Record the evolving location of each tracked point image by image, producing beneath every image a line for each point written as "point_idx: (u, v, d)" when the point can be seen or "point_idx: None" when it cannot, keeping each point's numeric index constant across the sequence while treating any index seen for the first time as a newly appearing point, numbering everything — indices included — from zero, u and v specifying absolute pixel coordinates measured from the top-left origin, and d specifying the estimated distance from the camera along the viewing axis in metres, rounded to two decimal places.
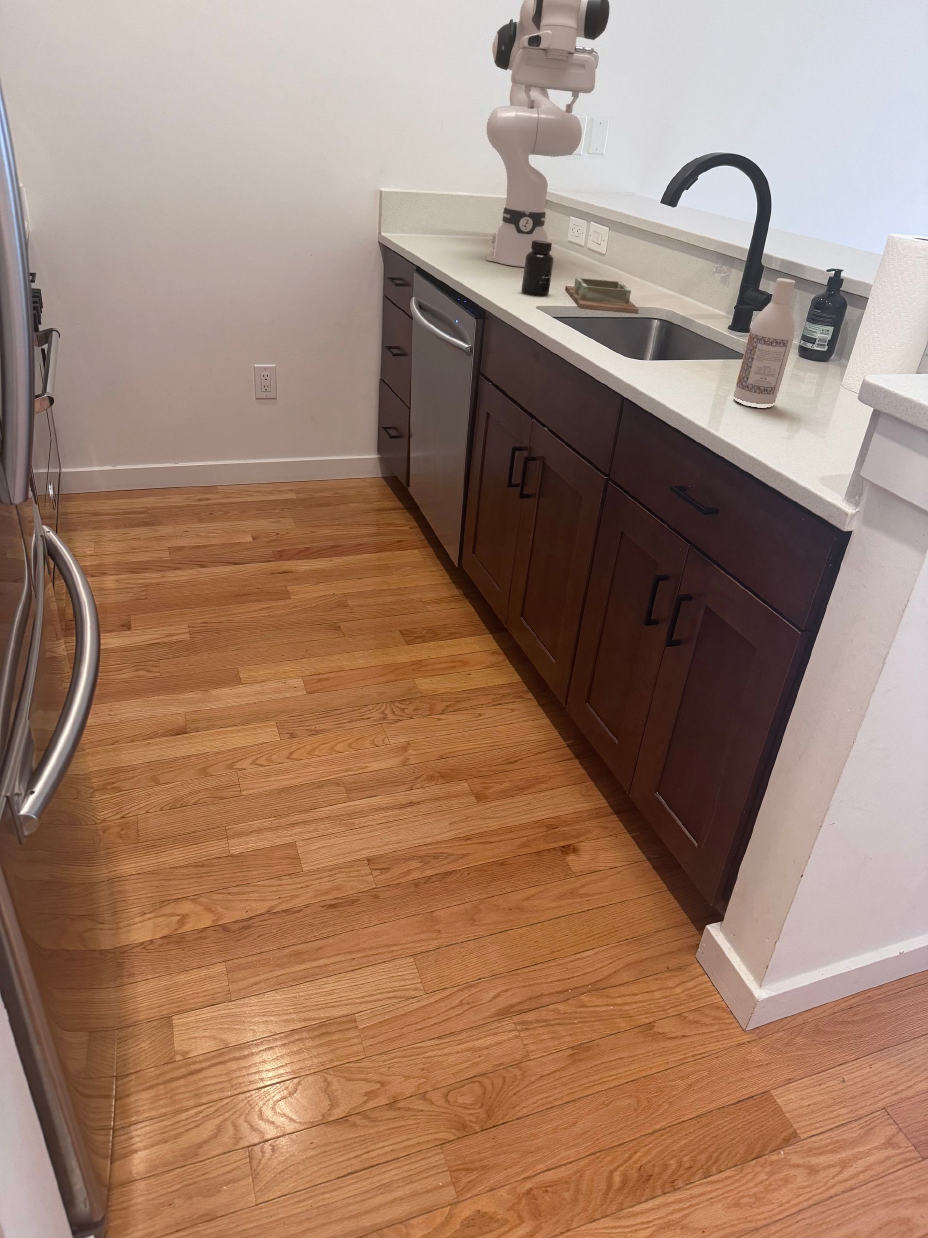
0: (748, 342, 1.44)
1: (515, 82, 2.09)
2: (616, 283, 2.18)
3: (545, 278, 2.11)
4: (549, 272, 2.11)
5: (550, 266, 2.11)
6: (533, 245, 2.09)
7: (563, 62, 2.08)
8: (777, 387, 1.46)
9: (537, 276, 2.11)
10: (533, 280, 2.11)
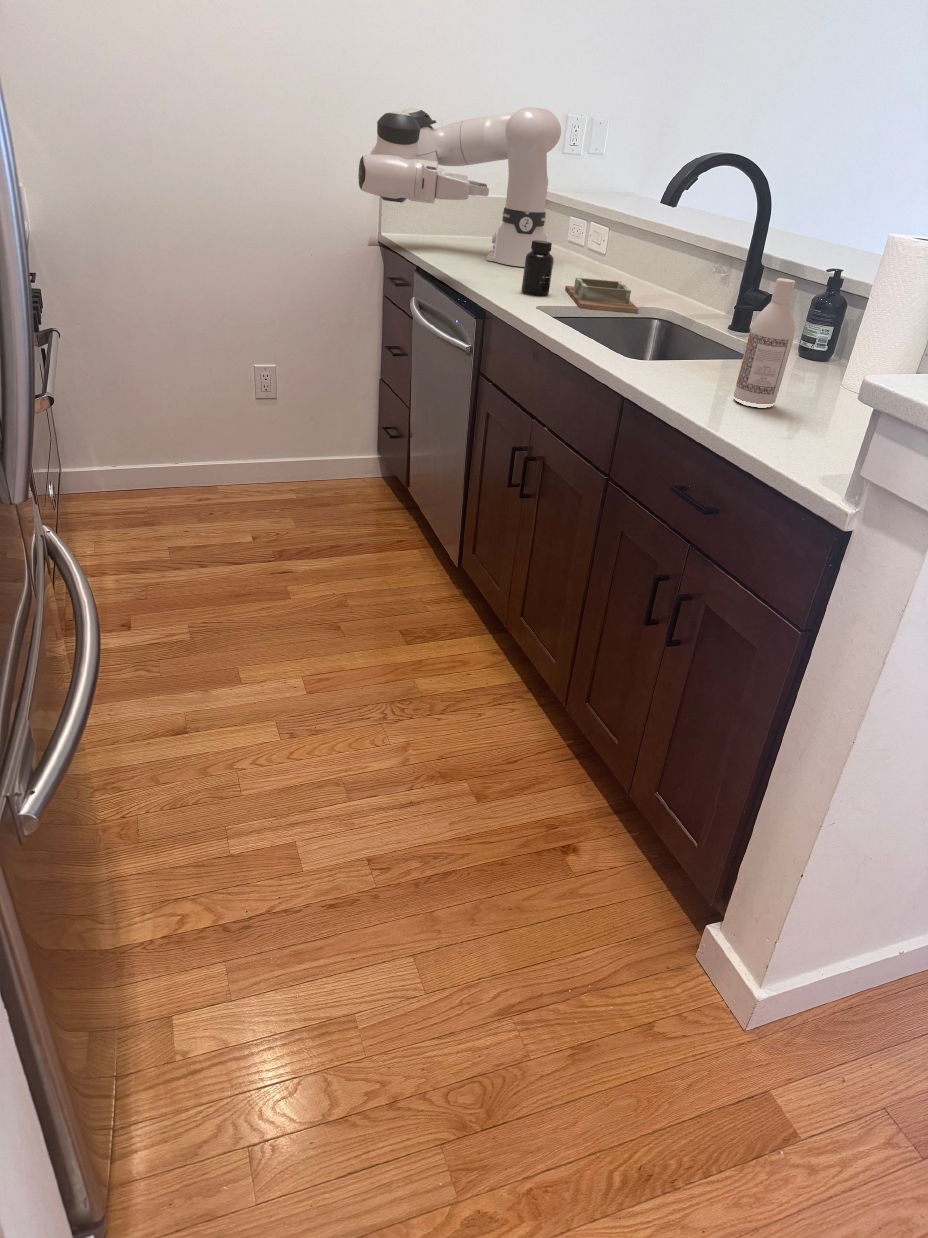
0: (748, 342, 1.44)
1: (469, 182, 1.95)
2: (616, 283, 2.18)
3: (545, 278, 2.11)
4: (549, 272, 2.11)
5: (550, 266, 2.11)
6: (533, 245, 2.09)
7: None
8: (777, 387, 1.46)
9: (537, 276, 2.11)
10: (533, 280, 2.11)
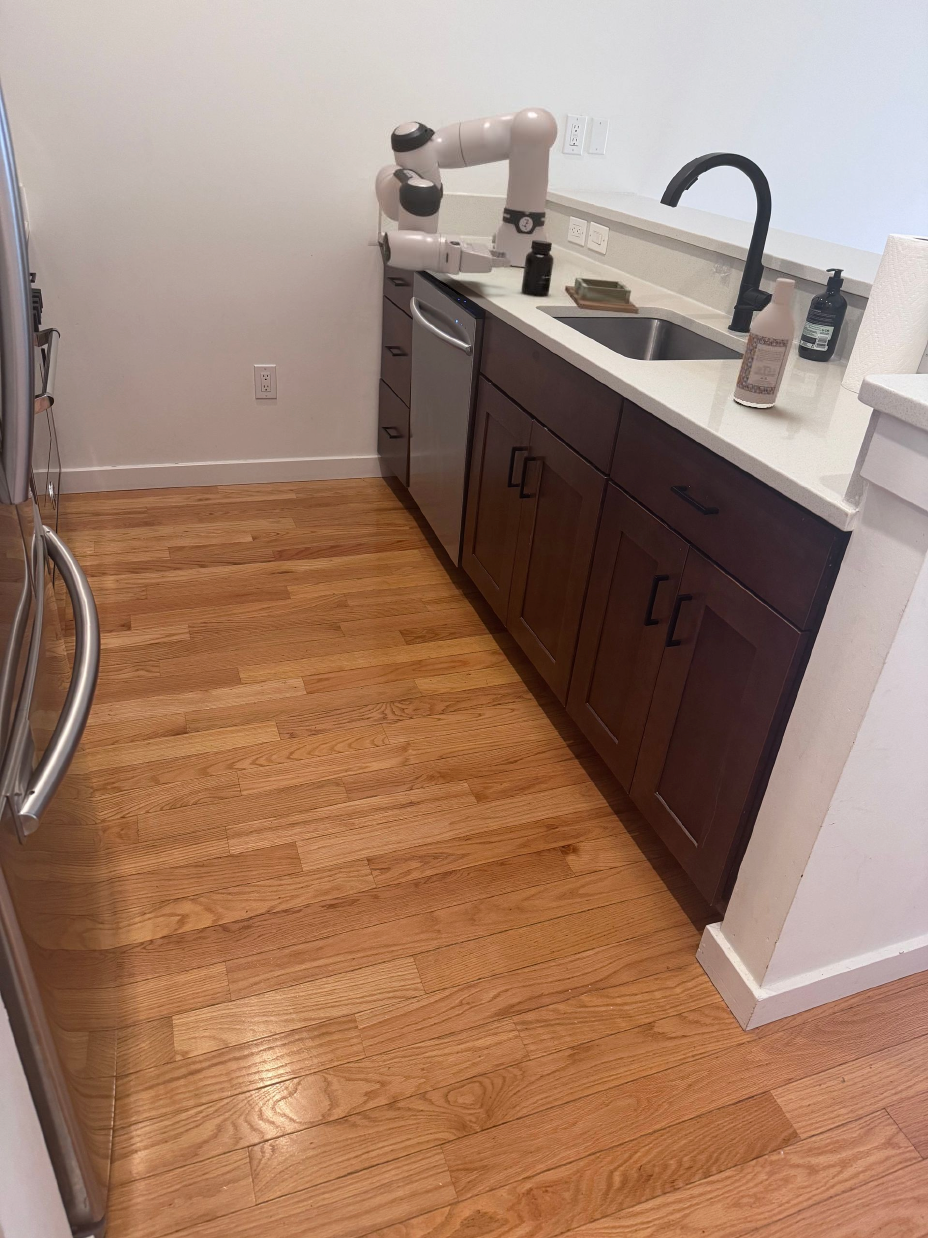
0: (748, 342, 1.44)
1: (492, 256, 2.02)
2: (616, 283, 2.18)
3: (545, 278, 2.11)
4: (549, 272, 2.11)
5: (550, 266, 2.11)
6: (533, 245, 2.09)
7: (467, 247, 2.11)
8: (777, 387, 1.46)
9: (537, 276, 2.11)
10: (533, 280, 2.11)
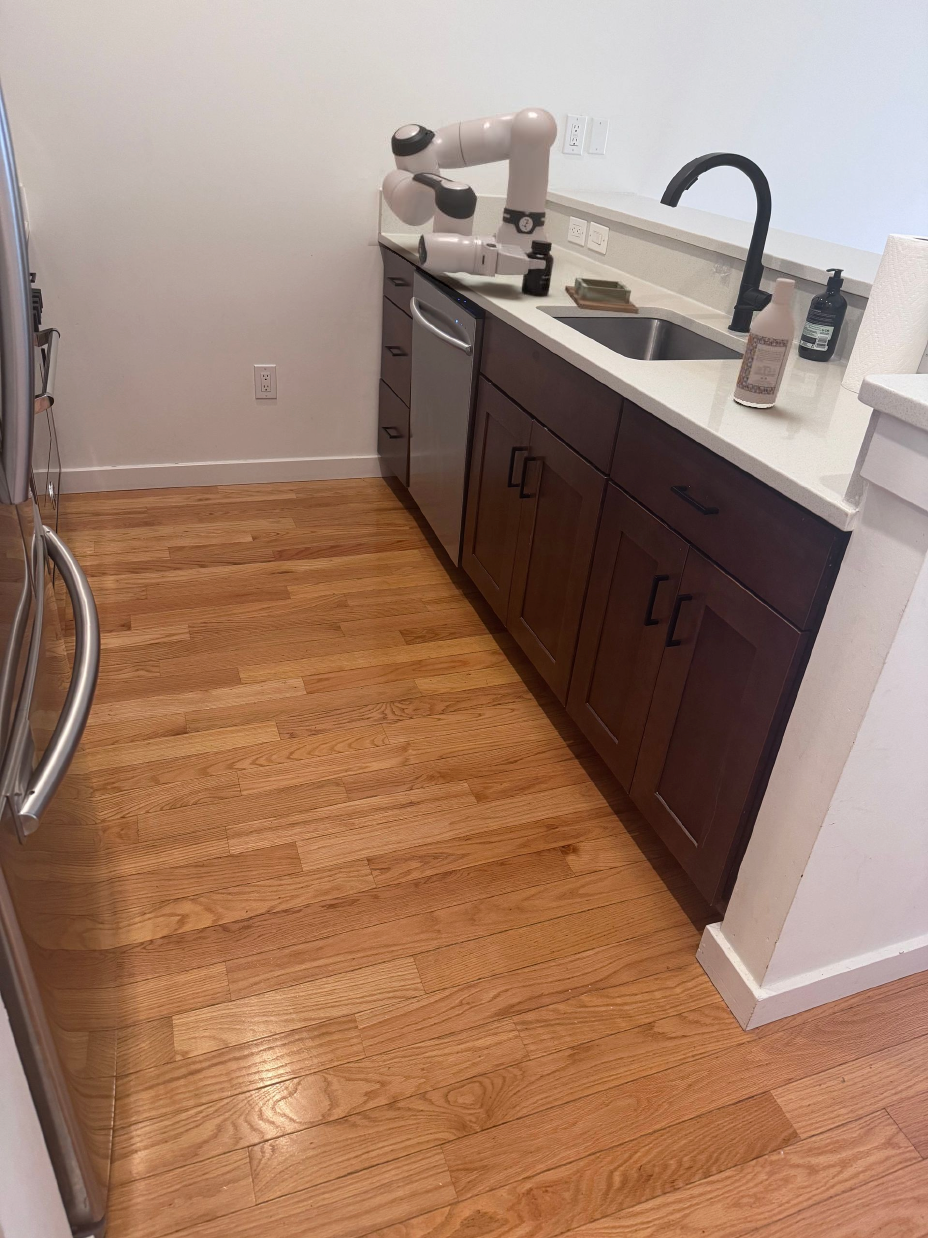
0: (748, 342, 1.44)
1: (528, 258, 2.03)
2: (616, 283, 2.18)
3: (545, 278, 2.11)
4: (549, 272, 2.11)
5: (550, 266, 2.11)
6: (533, 245, 2.09)
7: (502, 249, 2.12)
8: (777, 387, 1.46)
9: (537, 276, 2.11)
10: (533, 280, 2.11)
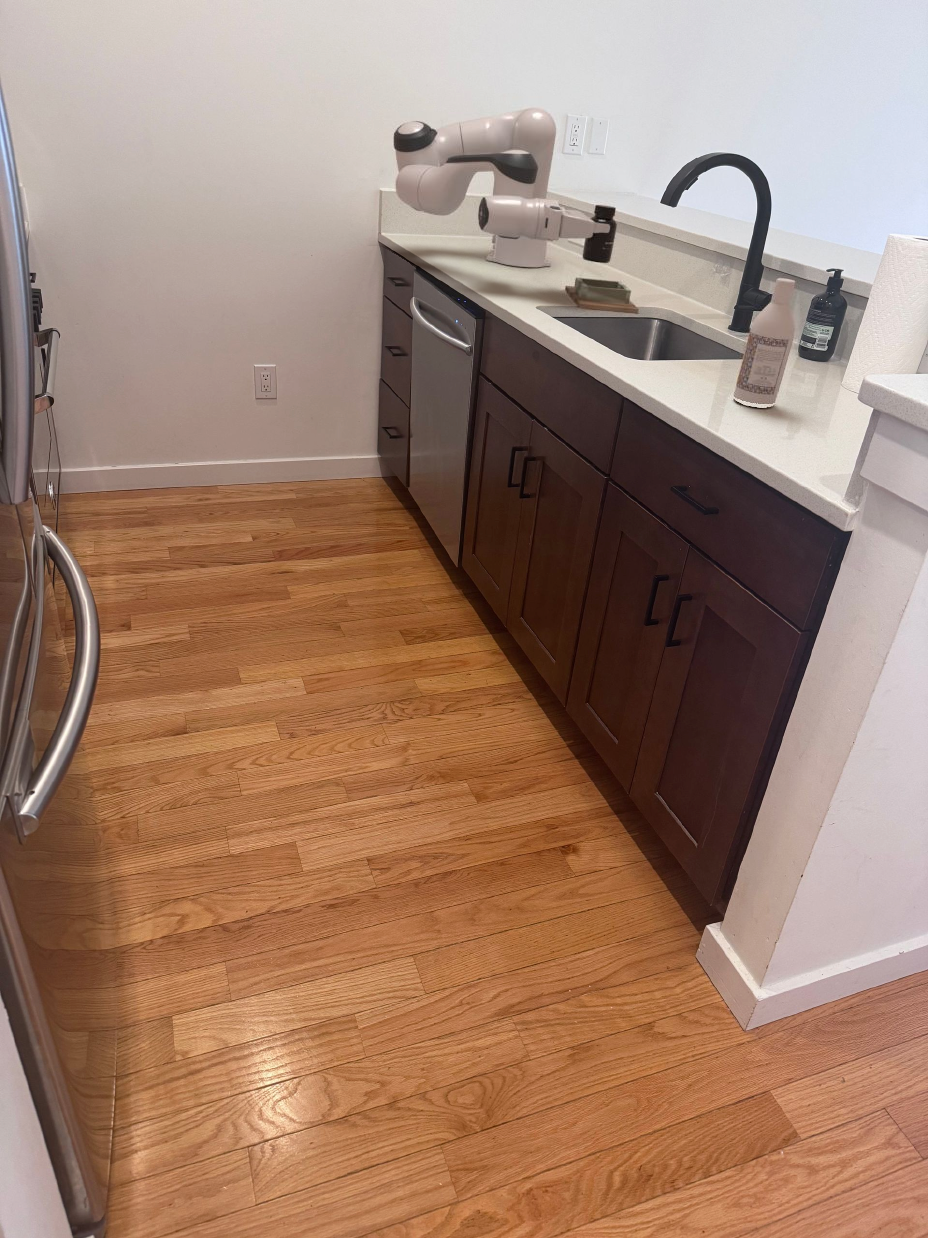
0: (748, 342, 1.44)
1: (593, 221, 1.98)
2: (616, 283, 2.18)
3: (608, 244, 2.06)
4: (612, 238, 2.06)
5: (613, 231, 2.05)
6: (597, 209, 2.04)
7: None
8: (777, 387, 1.46)
9: (600, 241, 2.05)
10: (595, 246, 2.06)
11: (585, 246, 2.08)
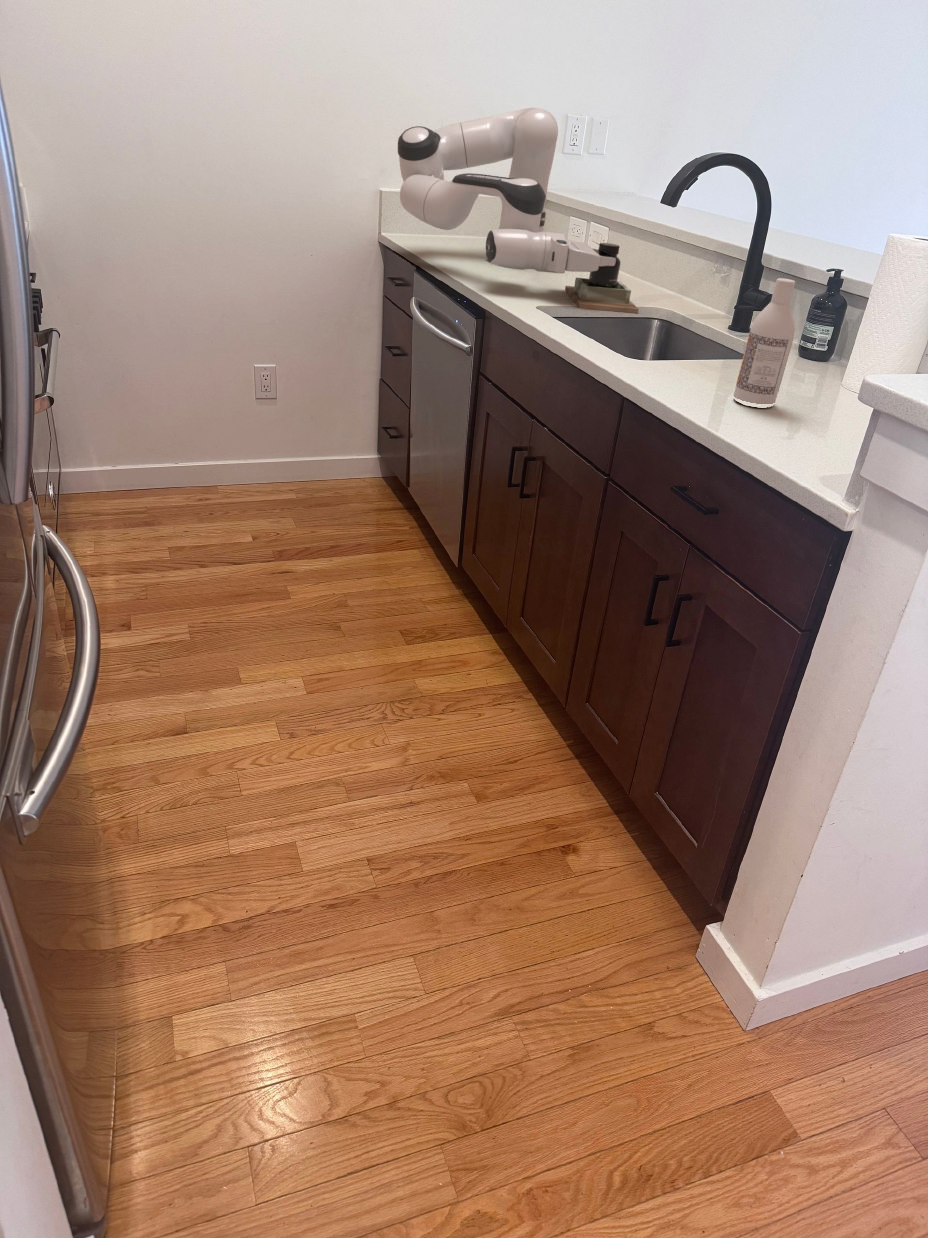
0: (748, 342, 1.44)
1: (599, 255, 2.02)
2: None
3: (612, 281, 2.11)
4: (616, 275, 2.11)
5: (617, 269, 2.10)
6: (601, 248, 2.08)
7: None
8: (777, 387, 1.46)
9: (604, 279, 2.10)
10: (600, 283, 2.10)
11: (589, 283, 2.12)
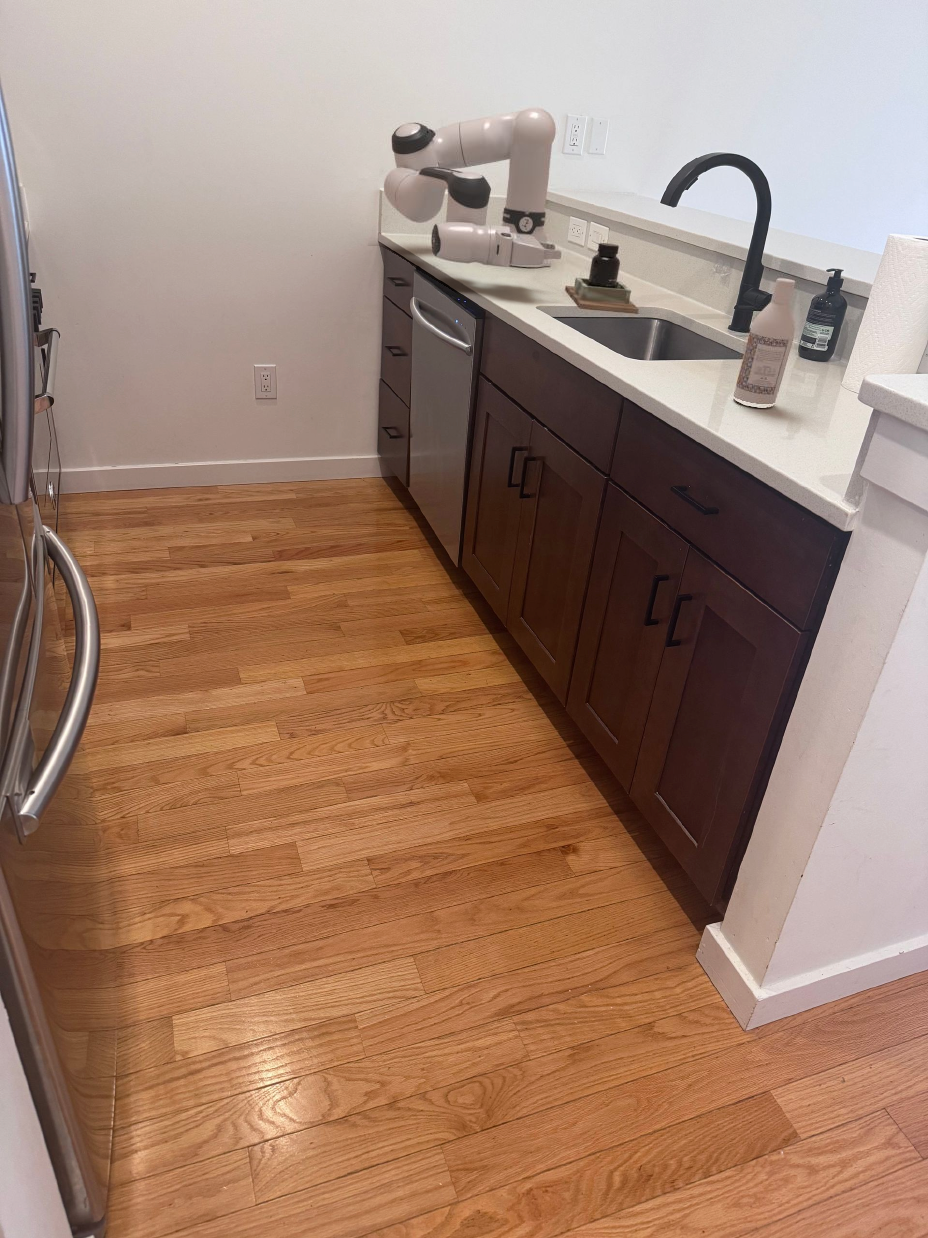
0: (748, 342, 1.44)
1: (544, 248, 2.00)
2: (616, 283, 2.18)
3: (611, 281, 2.11)
4: (616, 275, 2.11)
5: (617, 269, 2.10)
6: (600, 248, 2.08)
7: (516, 239, 2.09)
8: (777, 387, 1.46)
9: (604, 279, 2.10)
10: (599, 283, 2.10)
11: (589, 283, 2.13)
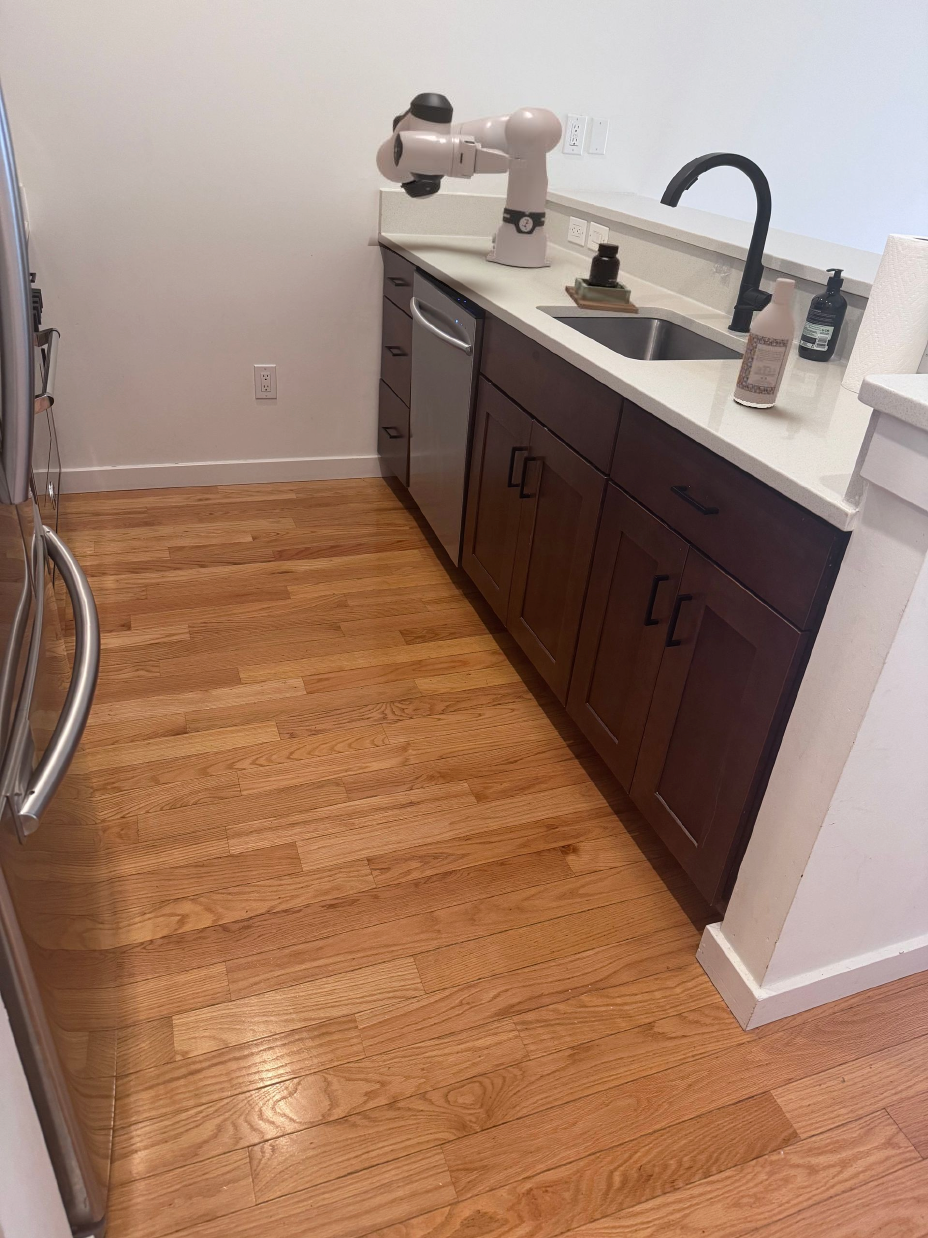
0: (748, 342, 1.44)
1: (508, 155, 1.93)
2: (616, 283, 2.18)
3: (611, 281, 2.11)
4: (616, 275, 2.11)
5: (617, 269, 2.10)
6: (600, 248, 2.08)
7: None
8: (777, 387, 1.46)
9: (604, 279, 2.10)
10: (599, 283, 2.10)
11: (589, 283, 2.13)
